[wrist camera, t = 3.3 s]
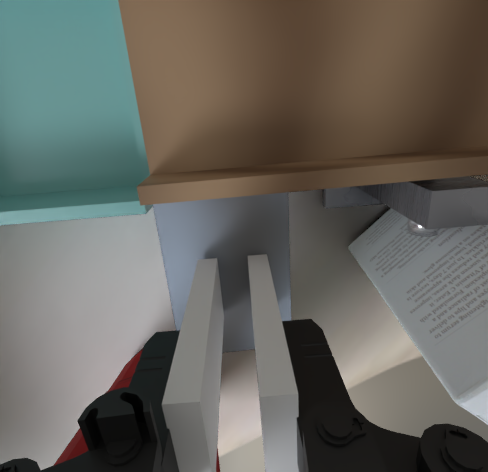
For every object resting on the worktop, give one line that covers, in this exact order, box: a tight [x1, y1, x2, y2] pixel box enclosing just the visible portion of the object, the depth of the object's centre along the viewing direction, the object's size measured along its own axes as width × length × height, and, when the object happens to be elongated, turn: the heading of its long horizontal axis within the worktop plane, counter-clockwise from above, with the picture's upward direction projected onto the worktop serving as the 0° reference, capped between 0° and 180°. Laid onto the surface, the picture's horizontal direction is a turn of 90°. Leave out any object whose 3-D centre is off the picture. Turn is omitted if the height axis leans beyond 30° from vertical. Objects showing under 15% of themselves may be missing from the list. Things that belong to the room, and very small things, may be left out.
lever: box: [118, 0, 488, 353], centre depth 11 cm, size 22×15×4 cm
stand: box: [323, 176, 488, 237], centre depth 13 cm, size 6×13×7 cm, turn 4°
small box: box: [348, 208, 488, 424], centre depth 14 cm, size 8×6×10 cm
